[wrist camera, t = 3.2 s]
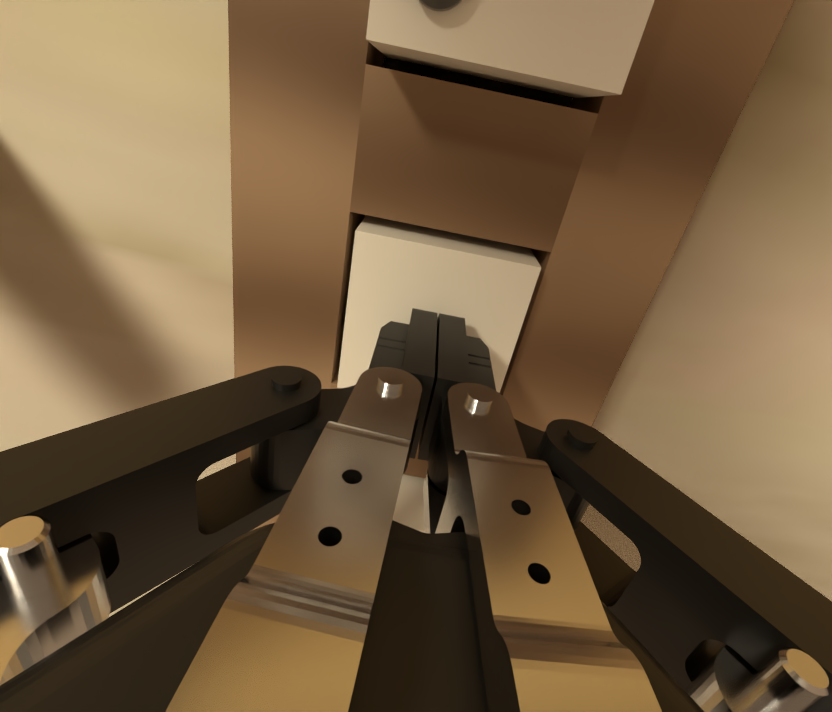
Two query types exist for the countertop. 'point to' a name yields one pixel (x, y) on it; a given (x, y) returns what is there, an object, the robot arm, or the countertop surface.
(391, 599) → the robot arm
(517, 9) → the button three
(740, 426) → the countertop surface
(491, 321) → the button one
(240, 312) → the button panel
